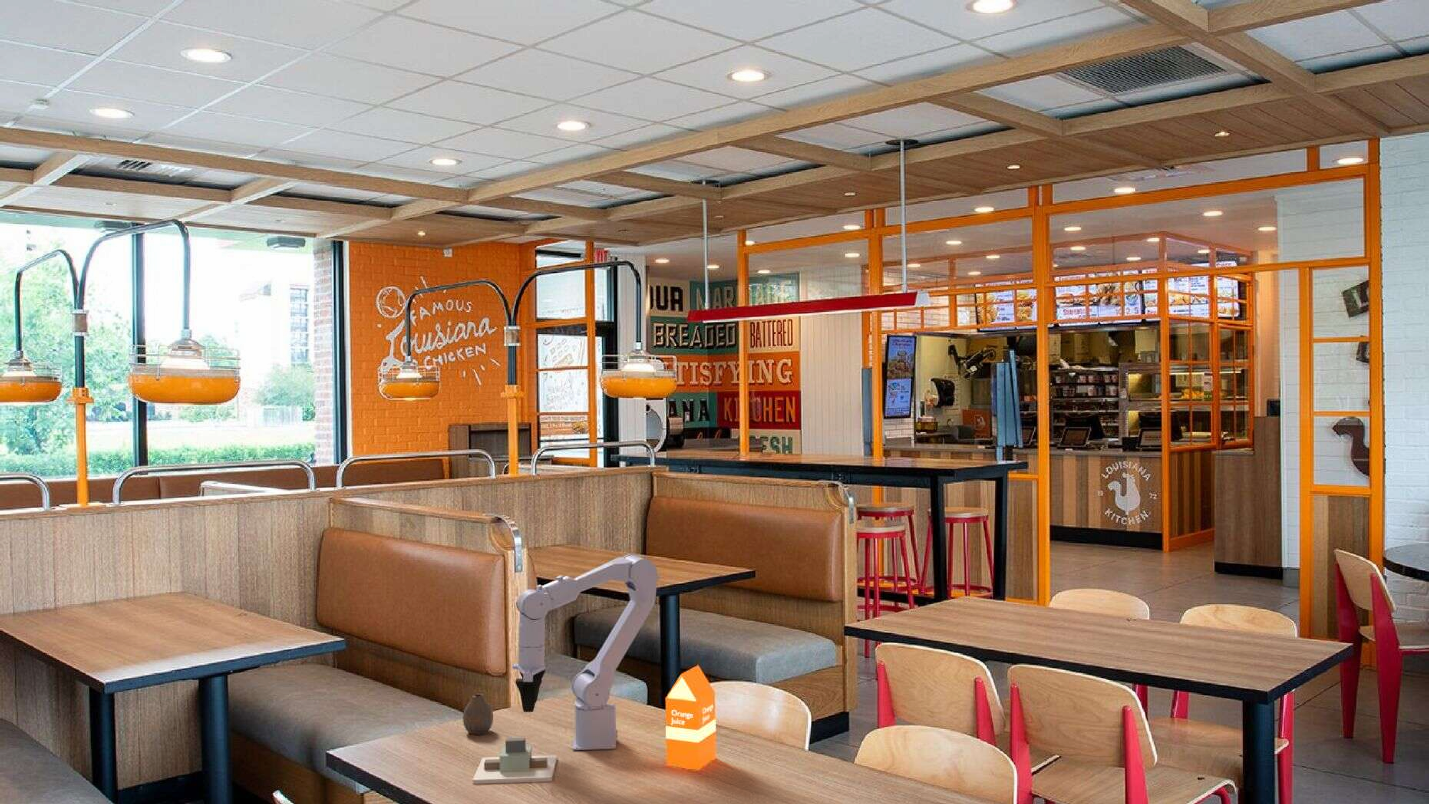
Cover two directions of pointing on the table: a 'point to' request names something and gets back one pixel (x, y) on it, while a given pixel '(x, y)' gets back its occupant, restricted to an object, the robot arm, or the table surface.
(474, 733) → the vase
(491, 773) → the board
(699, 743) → the orange juice
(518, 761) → the sage slotted block
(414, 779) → the table surface
